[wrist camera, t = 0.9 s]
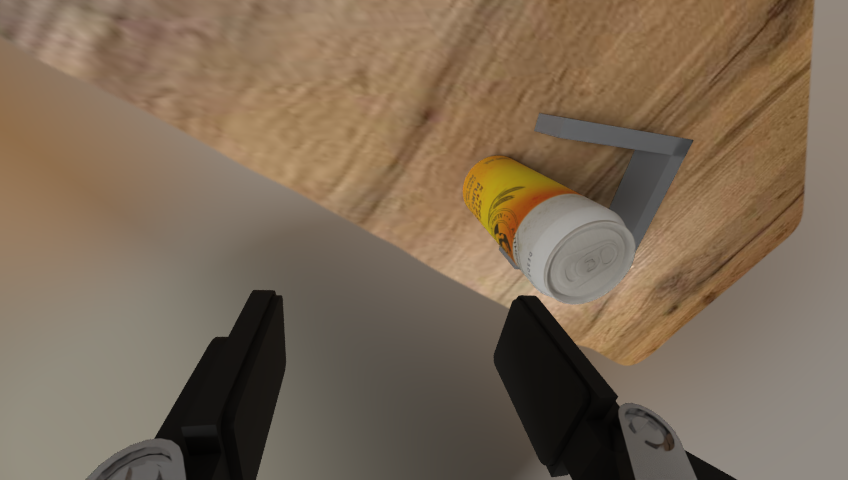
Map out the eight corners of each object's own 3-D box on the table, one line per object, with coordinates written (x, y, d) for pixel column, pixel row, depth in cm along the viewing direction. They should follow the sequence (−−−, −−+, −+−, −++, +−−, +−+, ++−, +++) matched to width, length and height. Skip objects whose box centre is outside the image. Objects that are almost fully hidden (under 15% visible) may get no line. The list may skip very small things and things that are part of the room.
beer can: (450, 174, 29) (525, 252, 15) (508, 141, 28) (635, 193, 15) (474, 224, 32) (554, 325, 18) (527, 195, 31) (648, 277, 18)
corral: (655, 133, 30) (693, 140, 27) (599, 255, 36) (624, 273, 33) (539, 113, 27) (565, 117, 24) (498, 249, 33) (514, 269, 30)
